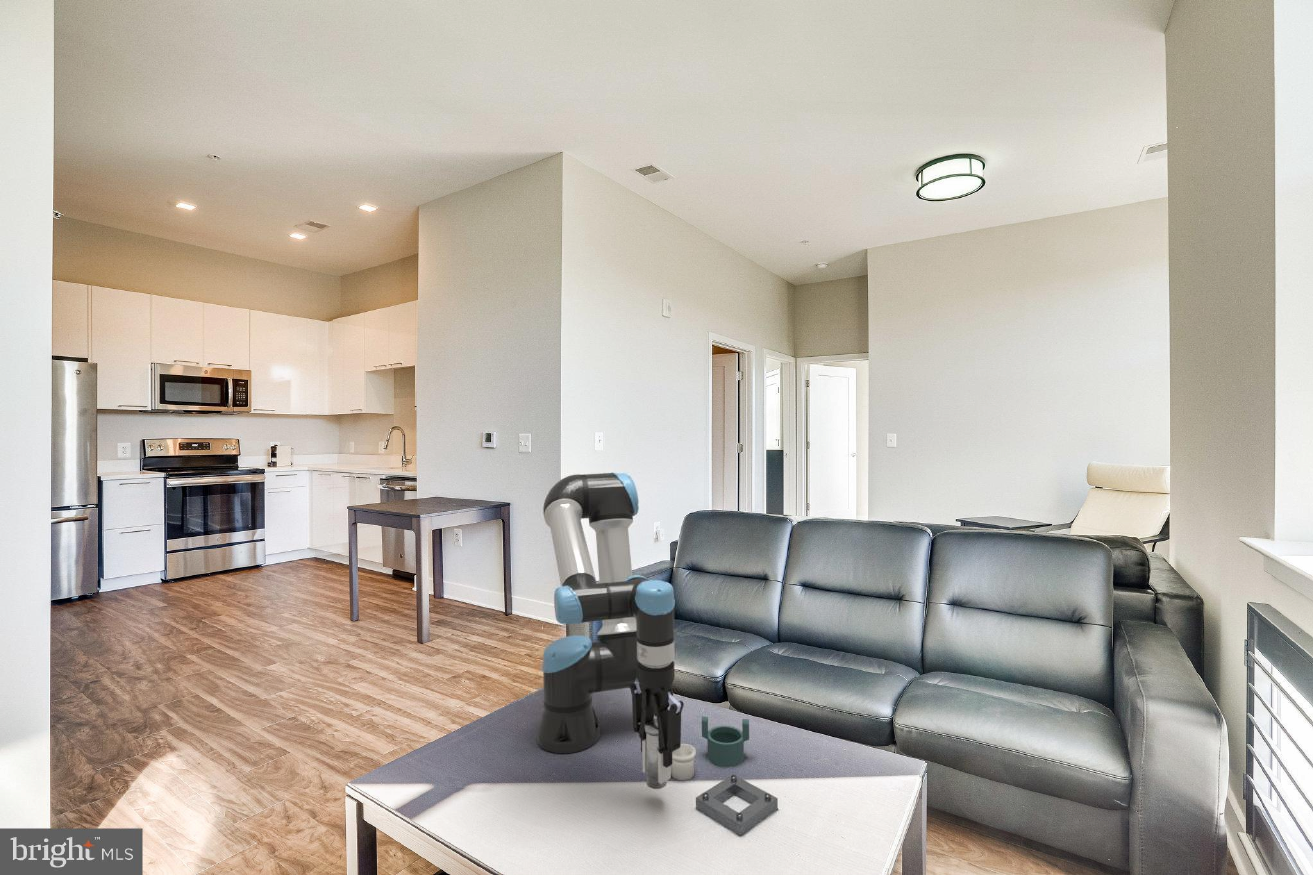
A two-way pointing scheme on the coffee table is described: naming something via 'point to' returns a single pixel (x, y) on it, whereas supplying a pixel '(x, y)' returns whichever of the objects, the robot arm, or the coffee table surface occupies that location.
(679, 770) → the cup
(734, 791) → the socket
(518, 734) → the coffee table surface
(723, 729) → the green cup holder
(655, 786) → the grey cylinder
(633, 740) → the coffee table surface
